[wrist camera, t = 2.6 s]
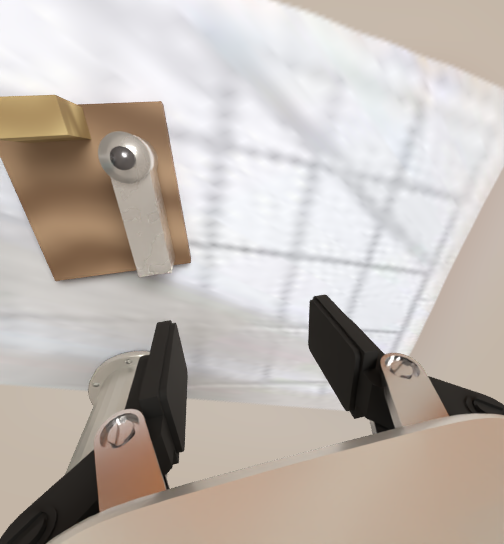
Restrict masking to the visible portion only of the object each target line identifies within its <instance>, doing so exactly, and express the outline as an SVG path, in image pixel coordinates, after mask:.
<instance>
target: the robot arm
mask: <svg viewBox="0 0 504 544" xmlns="http://www.w3.org/2000/svg"><path fill="white" fill-rule="evenodd" d="M308 345H309V349H310V352H311V353H312V355H313V357H314V358H315V360H316V362H317V363H318V365H319V367H320V368H321V370H322V372H323V374H324V375H325V377H326V379H327V380H328V382H329V384H330V385H331V387H332V389H333V390H334V392H335V394H336V395H337V397H338V399H339V401H340V402H341V404H342V406H343V407H344V409H345V410H346V411H350V412H351V414H352V416H353V417H354V419H356V418H360V417H364V416H365V417H366V418H367V419H369V420H370V424H371V429H372V433H373V435H369V436H365V437H361V438H357V439H353V440H350V441H346V442H342V443H338V444H334V445H330V446H326V447H323V448H319V449H315V450H311V451H308V452H304V453H300V454H296V455H293V456H289V457H285V458H281V459H277V460H274V461H270V462H266V463H262V464H259V465H255V466H252V467H248V468H244V469H240V470H237V471H233V472H229V473H225V474H222V475H218V476H214V477H211V478H207V479H203V480H200V481H196V482H192V483H189V484H185V485H182V486H178V487H175V488H171V489H170V488H169V485H168V482H167V473H168V472H169V471H170V469H171V468H172V465H173V464H177V463H179V452H183V451H184V447H185V424H186V423H185V422H186V400H187V367H186V363H185V358H184V354H183V350H182V346H181V341H180V337H179V333H178V329H177V325H176V323H172V322H171V321H164V322H158V323H157V325H156V329H155V334H154V338H153V342H152V346H151V350H150V352H148V351H134V352H127V353H123V354H120V355H117V356H114V357H112V358H110V359H108V360H107V361H105V362H104V363H103V364H101V365H100V366H99V368H98V369H97V370H96V371H95V373H94V375H93V376H92V379H91V381H90V383H89V389H88V393H89V398H90V400H91V403H92V404H93V405H94V407H93V409H92V412H91V414H90V417H89V419H88V421H87V424H86V426H85V428H84V431H83V433H82V435H81V438H80V440H79V443H78V445H77V447H76V450H75V452H74V455H73V457H72V459H71V462H70V464H69V466H68V469H67V471H66V474H65V475H64V476H63V477H62V478H61V479H60V480H59V481H58V482H57V483H55V484H54V485H53V486H52V487H51V488H50V489H49V490H48V491H46V492H45V493H44V494H43V495H42V496H41V497H40V498H38V499H37V500H36V501H35V502H34V503H33V504H32V505H31V506H30V507H28V508H27V509H26V510H25V511H24V512H23V513H22V514H20V516H18V518H17V519H16V520H15V521H14V522H13V523H12V524H11V525H10V526H9V527H8V529H7V530H6V532H5V533H4V534H3V535H2V537H1V539H0V544H504V405H503V404H502V403H500V402H498V401H497V400H495V399H493V398H491V397H488V396H486V395H483V394H480V393H477V392H474V391H471V390H468V389H465V388H462V387H459V386H456V385H453V384H450V383H447V382H444V381H441V380H438V379H435V378H432V377H429V376H427V374H426V372H425V370H424V368H423V367H422V366H421V364H420V363H419V362H417V361H416V360H415V359H413V358H411V357H409V356H407V355H404V354H400V353H388V354H384V353H383V352H382V351H381V350H380V349H379V348H378V347H377V346H376V345H375V344H374V343H373V342H372V341H371V340H370V339H369V338H368V337H367V336H366V334H365V333H364V332H363V331H362V330H361V329H360V328H359V327H358V326H357V325H356V324H355V323H354V322H353V321H352V320H351V319H349V318H348V317H347V316H346V315H345V314H344V313H343V312H342V311H341V310H340V309H339V308H338V307H337V306H336V304H335V303H334V302H333V301H332V300H331V299H330V298H329V297H328V296H327V295H320V296H314V297H313V300H310V309H309V339H308Z"/></svg>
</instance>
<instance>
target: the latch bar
mask: <svg viewBox="0 0 504 544" xmlns="http://www.w3.org/2000/svg"><path fill="white" fill-rule="evenodd" d="M98 158H99V161H100V164H101V166H102V168H103V169H104V171H105V172H106V173H107V174H108V175H109V176H110V177H111V181H112V184H113V188H114V192H115V195H116V199H117V202H118V206H119V209H120V213H121V216H122V220H123V223H124V227H125V230H126V234H127V237H128V241H129V244H130V248H131V251H132V255H133V258H134V262H135V266H136V269H137V273H138V276H139V277H144V276H151V275H158V274H166V273H172V270H173V265H174V261H175V255H174V250H173V245H172V241H171V236H170V231H169V226H168V222H167V217H166V212H165V207H164V202H163V198H162V193H161V188H160V183H159V178H158V174H157V166H158V157H157V154H156V151H155V150H154V148H153V147H152V145H151V144H150V143H149V142H147V141H146V140H144V139H142V138H140V137H137V136H135V135H132V134H130V133H127V132H122V131H116V132H112V133H109V134H107V135H106V136H105V137H104V138H103V139H102V140H101V142H100V144H99V147H98Z"/></svg>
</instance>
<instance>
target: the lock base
mask: <svg viewBox="0 0 504 544" xmlns="http://www.w3.org/2000/svg"><path fill="white" fill-rule="evenodd" d="M116 131H122V132H127V133H130V134H132V135H135V136H137V137H140V138H142V139H144V140H146V141H147V142H149V143H150V144H151V145H152V147H153V148H154V150H155V151H156V154H157V157H158V166H157V174H158V178H159V183H160V188H161V193H162V198H163V202H164V207H165V212H166V217H167V222H168V226H169V231H170V236H171V241H172V245H173V250H174V255H175V261H174V265H178V264H186V263H191V256H190V250H189V245H188V239H187V233H186V228H185V222H184V217H183V211H182V206H181V200H180V195H179V189H178V184H177V178H176V173H175V167H174V162H173V156H172V151H171V145H170V139H169V134H168V128H167V123H166V117H165V112H164V106H163V104H162V102H161V101H158V102H131V103H105V104H79V105H76V104H74V103H72V102H70V101H67V100H65V99H63V98H61V97H59V96H56V95H39V96H8V97H0V157H1V159H2V161H3V163H4V166H5V168H6V170H7V173H8V175H9V177H10V179H11V182H12V184H13V186H14V188H15V191H16V193H17V195H18V197H19V200H20V202H21V204H22V207H23V209H24V211H25V213H26V216H27V218H28V220H29V222H30V225H31V227H32V229H33V231H34V234H35V236H36V238H37V241H38V243H39V245H40V247H41V250H42V252H43V254H44V256H45V259H46V261H47V263H48V265H49V268H50V270H51V272H52V275H53V277H54V279H55V281H59V280H67V279H74V278H82V277H89V276H96V275H104V274H111V273H119V272H126V271H134V270H137V269H136V266H135V262H134V258H133V255H132V251H131V248H130V244H129V241H128V237H127V234H126V230H125V227H124V223H123V220H122V216H121V213H120V209H119V206H118V202H117V199H116V195H115V192H114V188H113V184H112V181H111V177H110V176H109V175H108V174H107V173H106V172H105V171H104V169H103V168H102V166H101V164H100V161H99V158H98V147H99V144H100V142H101V140H102V139H103V138H104V137H105V136H106V135H107V134H109V133H112V132H116Z"/></svg>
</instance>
